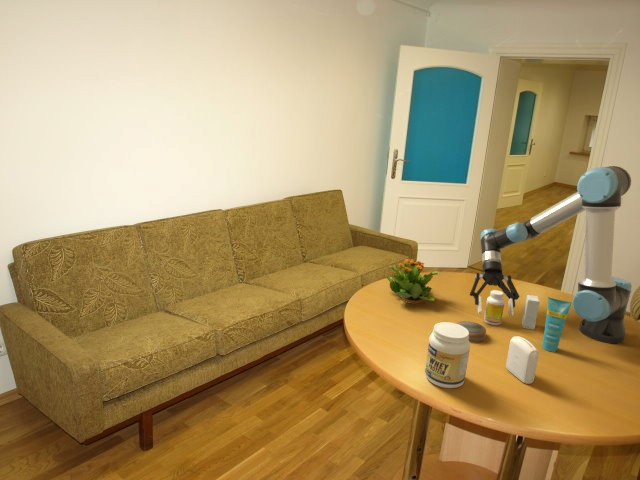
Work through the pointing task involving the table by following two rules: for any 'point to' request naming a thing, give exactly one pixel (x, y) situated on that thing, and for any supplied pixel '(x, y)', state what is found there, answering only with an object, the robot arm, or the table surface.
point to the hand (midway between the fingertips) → (495, 313)
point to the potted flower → (411, 282)
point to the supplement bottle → (494, 308)
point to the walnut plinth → (474, 331)
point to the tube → (554, 323)
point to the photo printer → (522, 359)
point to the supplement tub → (447, 355)
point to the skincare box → (530, 312)
